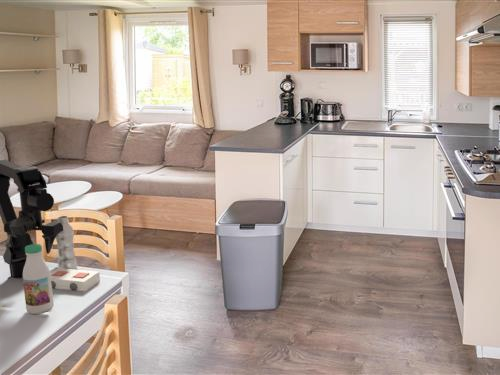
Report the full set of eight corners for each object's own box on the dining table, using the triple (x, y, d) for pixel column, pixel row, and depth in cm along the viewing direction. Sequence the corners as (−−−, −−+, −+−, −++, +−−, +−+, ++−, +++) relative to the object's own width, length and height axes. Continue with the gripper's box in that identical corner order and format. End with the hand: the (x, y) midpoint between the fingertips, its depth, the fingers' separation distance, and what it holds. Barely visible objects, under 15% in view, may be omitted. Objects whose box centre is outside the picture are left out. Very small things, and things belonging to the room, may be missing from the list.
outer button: (73, 281, 179) (73, 276, 178) (79, 277, 182) (79, 272, 182) (83, 282, 178) (82, 277, 177) (89, 278, 181) (88, 273, 181)
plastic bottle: (80, 268, 198) (75, 214, 193) (73, 275, 191) (67, 220, 187) (63, 267, 198) (58, 214, 194) (55, 274, 192) (49, 219, 188)
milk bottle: (33, 303, 168) (25, 241, 164) (57, 303, 168) (51, 241, 164) (22, 315, 161) (14, 250, 156) (48, 314, 161) (40, 250, 156)
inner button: (52, 279, 181) (51, 274, 181) (59, 275, 184) (58, 270, 184) (61, 280, 180) (61, 275, 180) (68, 276, 183) (67, 271, 183)
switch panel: (40, 289, 179) (38, 277, 179) (57, 278, 188) (56, 267, 187) (84, 293, 175) (83, 281, 174) (100, 282, 184) (99, 270, 183)
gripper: (-12, 211, 171) (-6, 258, 174) (39, 214, 165) (45, 263, 169) (12, 202, 181) (18, 247, 184) (61, 205, 176) (66, 251, 179)
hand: (36, 252), depth 179 cm, fingers open, 9 cm apart
